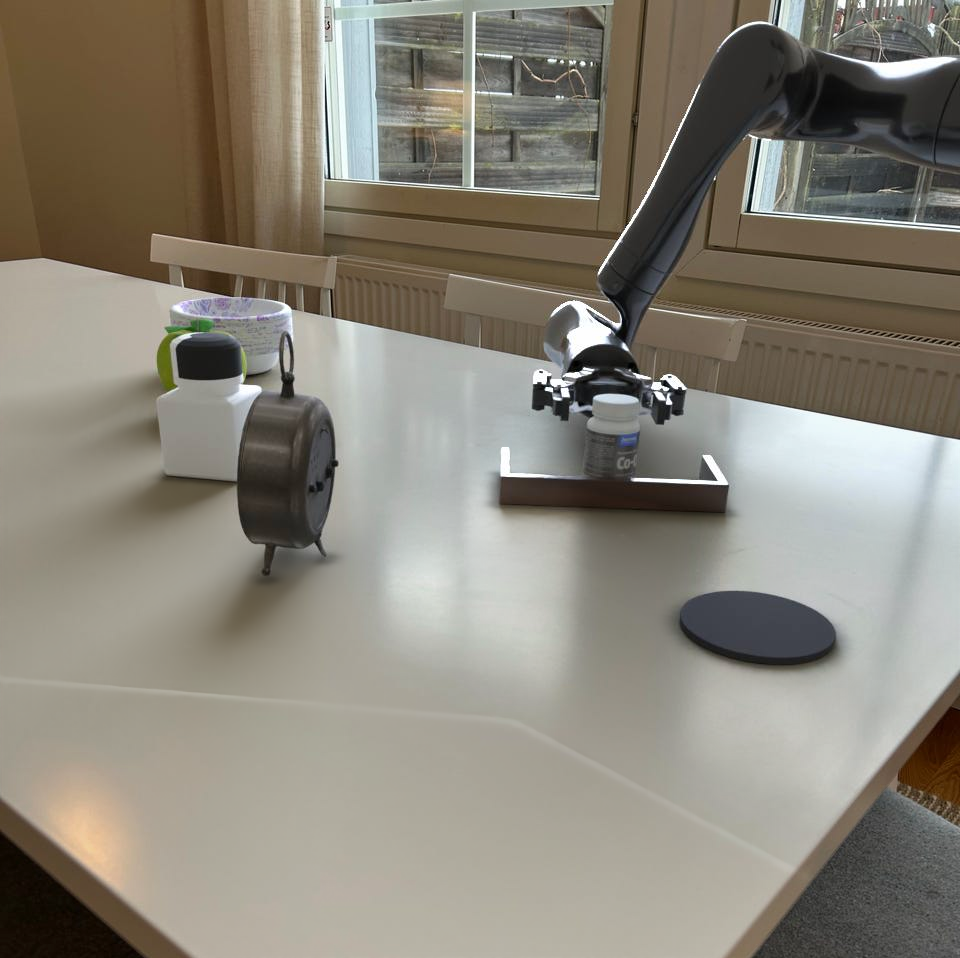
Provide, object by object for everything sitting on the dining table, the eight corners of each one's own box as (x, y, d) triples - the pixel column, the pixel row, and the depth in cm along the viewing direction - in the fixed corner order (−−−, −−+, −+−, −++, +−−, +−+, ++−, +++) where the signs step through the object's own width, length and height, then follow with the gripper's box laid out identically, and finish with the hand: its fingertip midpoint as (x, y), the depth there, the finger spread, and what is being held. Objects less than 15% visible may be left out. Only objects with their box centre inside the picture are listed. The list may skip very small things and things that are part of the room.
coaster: (730, 584, 71) (731, 578, 71) (861, 631, 65) (863, 624, 65) (649, 626, 65) (650, 619, 65) (786, 681, 59) (788, 674, 58)
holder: (499, 473, 93) (500, 447, 92) (707, 481, 93) (710, 455, 92) (499, 503, 85) (500, 476, 84) (725, 512, 85) (729, 485, 84)
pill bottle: (621, 502, 86) (631, 407, 83) (572, 492, 88) (580, 399, 85) (641, 488, 90) (651, 396, 86) (593, 479, 92) (601, 389, 88)
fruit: (146, 418, 106) (134, 322, 101) (191, 399, 114) (181, 309, 109) (223, 427, 104) (214, 329, 99) (263, 406, 112) (257, 315, 107)
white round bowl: (237, 387, 120) (232, 320, 116) (150, 370, 127) (142, 305, 123) (318, 367, 131) (316, 305, 128) (235, 352, 138) (230, 292, 135)
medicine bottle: (267, 460, 94) (258, 331, 89) (238, 482, 88) (226, 345, 82) (197, 454, 95) (184, 326, 90) (163, 476, 89) (147, 339, 83)
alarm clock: (282, 527, 79) (269, 316, 71) (349, 531, 78) (342, 320, 71) (238, 581, 69) (218, 344, 61) (314, 587, 69) (303, 349, 61)
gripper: (532, 332, 100) (535, 366, 85) (672, 337, 100) (699, 371, 85) (528, 406, 103) (531, 450, 89) (663, 411, 103) (688, 456, 89)
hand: (613, 411), depth 87 cm, fingers open, 8 cm apart
